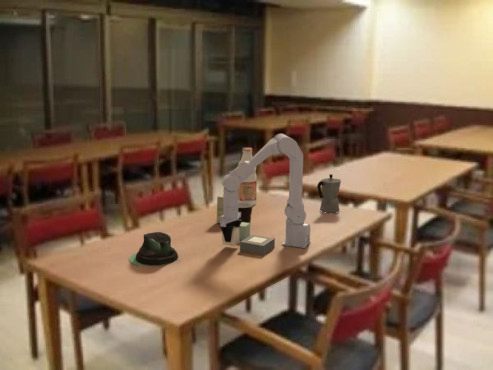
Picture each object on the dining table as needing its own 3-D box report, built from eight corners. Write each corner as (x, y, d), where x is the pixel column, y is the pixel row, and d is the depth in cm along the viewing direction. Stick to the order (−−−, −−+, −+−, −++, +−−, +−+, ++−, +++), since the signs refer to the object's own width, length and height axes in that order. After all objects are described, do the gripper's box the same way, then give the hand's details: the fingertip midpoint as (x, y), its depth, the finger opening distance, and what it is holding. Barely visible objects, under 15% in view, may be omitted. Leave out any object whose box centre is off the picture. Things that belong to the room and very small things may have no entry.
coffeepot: (331, 206, 289) (333, 171, 285) (346, 210, 282) (347, 174, 277) (309, 212, 279) (310, 175, 275) (324, 216, 272) (325, 178, 268)
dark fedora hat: (187, 250, 226) (187, 227, 224) (178, 269, 206) (177, 244, 204) (137, 249, 227) (136, 226, 225) (123, 267, 208) (122, 242, 206)
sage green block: (250, 237, 242) (250, 223, 240) (245, 240, 237) (245, 226, 236) (238, 235, 243) (239, 221, 242) (233, 239, 239) (233, 224, 238)
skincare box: (216, 223, 260) (216, 196, 258) (219, 220, 264) (219, 194, 262) (230, 224, 259) (230, 197, 256) (233, 221, 263) (233, 195, 260)
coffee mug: (239, 223, 260) (239, 201, 258) (256, 226, 256) (256, 204, 254) (224, 230, 251) (224, 207, 248) (242, 233, 246) (242, 210, 244)
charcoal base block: (274, 248, 229) (274, 238, 228) (263, 255, 221) (263, 245, 220) (251, 244, 234) (251, 234, 233) (239, 251, 225) (240, 241, 224)
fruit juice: (233, 203, 294) (233, 148, 287) (247, 200, 300) (247, 146, 294) (246, 207, 287) (247, 150, 281) (260, 203, 293) (260, 148, 287)
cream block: (239, 242, 229) (239, 227, 228) (234, 246, 225) (234, 231, 223) (227, 240, 231) (227, 225, 230) (222, 244, 227) (222, 229, 225)
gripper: (229, 200, 232) (229, 233, 236) (212, 209, 220) (213, 243, 223) (245, 202, 230) (245, 235, 233) (229, 211, 217) (230, 246, 220)
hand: (230, 239), depth 228 cm, fingers closed on cream block, 5 cm apart
